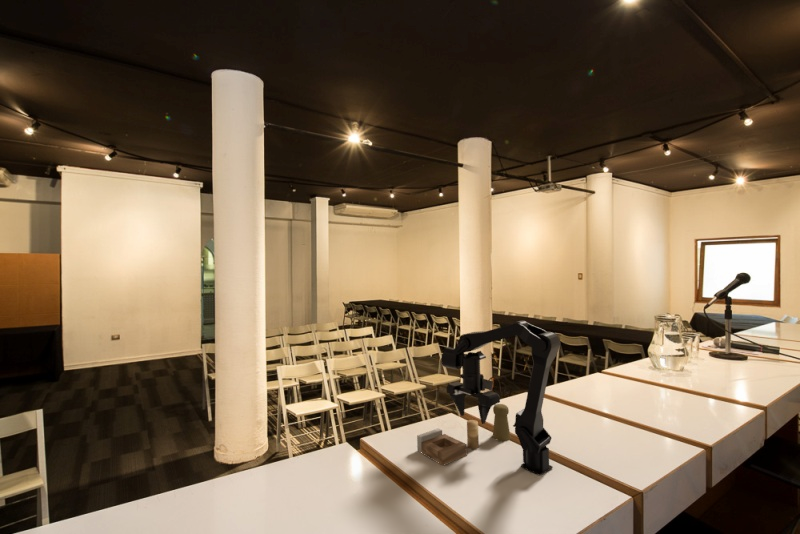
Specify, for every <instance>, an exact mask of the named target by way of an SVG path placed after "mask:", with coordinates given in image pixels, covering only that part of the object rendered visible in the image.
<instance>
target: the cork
mask: <svg viewBox="0 0 800 534" xmlns="http://www.w3.org/2000/svg"><path fill="white" fill-rule="evenodd" d="M492 409H493V410H492V411H493V414H494V420H493V429H492V438H493V439H494V440H496V441H500V442H506V441H509V440H511V437H512V436H511V432H510V425H509V420H508V415H509V411H510V410H509V406H507V405H506V404H504V403H496V404H495V405H493V406H492Z"/></svg>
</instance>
